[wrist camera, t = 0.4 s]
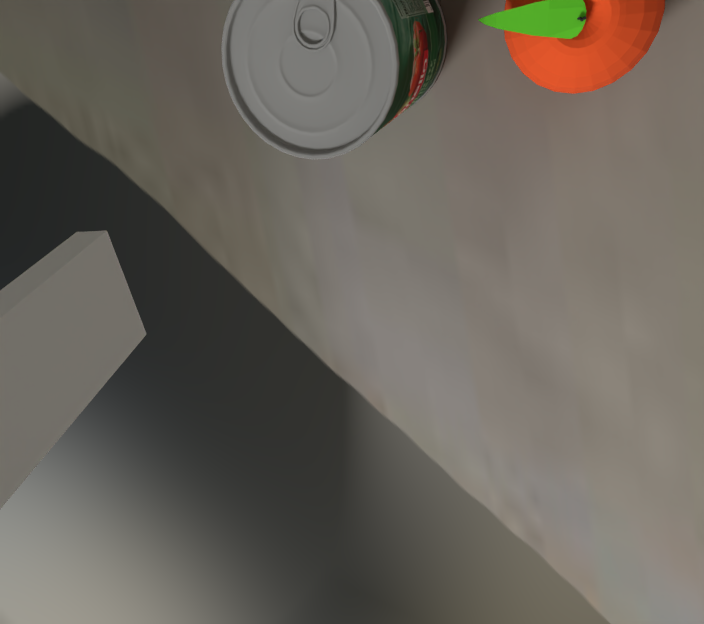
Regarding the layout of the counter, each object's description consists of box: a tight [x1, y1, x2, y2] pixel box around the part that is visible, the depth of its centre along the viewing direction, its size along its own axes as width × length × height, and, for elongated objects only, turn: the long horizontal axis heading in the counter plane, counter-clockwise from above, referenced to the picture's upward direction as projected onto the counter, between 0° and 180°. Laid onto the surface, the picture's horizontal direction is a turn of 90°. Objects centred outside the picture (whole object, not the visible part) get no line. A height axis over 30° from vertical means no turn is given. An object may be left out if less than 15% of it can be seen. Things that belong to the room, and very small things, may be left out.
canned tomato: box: [221, 0, 447, 159], centre depth 30 cm, size 8×8×11 cm
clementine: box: [478, 0, 665, 94], centre depth 28 cm, size 8×7×7 cm
